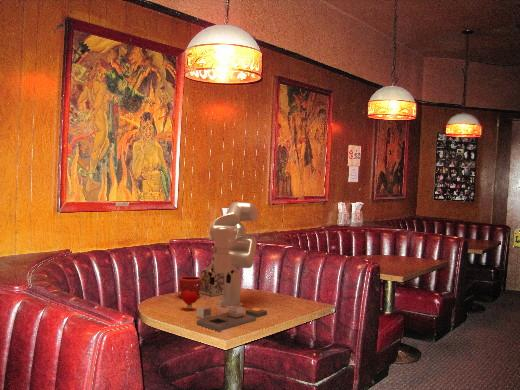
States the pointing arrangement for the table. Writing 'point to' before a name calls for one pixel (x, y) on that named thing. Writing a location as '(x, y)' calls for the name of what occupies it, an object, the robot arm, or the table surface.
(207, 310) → the block
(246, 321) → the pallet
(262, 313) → the button housing
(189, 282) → the plant pot
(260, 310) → the button
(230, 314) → the seated billet
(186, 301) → the light bulb
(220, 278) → the decorative jar
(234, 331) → the table surface
